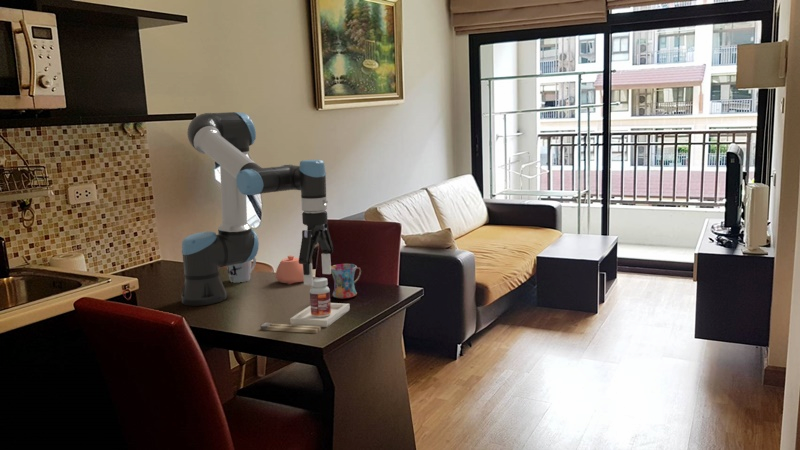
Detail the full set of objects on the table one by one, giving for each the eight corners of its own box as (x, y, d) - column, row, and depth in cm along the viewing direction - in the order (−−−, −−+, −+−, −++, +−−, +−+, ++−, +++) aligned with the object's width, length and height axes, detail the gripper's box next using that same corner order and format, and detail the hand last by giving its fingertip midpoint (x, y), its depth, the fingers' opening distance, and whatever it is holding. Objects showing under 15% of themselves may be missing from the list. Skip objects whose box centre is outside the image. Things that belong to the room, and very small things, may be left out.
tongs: (260, 329, 191) (260, 325, 191) (265, 326, 194) (265, 322, 194) (316, 333, 186) (316, 329, 186) (321, 329, 189) (320, 325, 189)
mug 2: (341, 301, 218) (339, 271, 216) (326, 296, 225) (324, 267, 223) (369, 294, 225) (368, 264, 224) (354, 290, 232) (352, 261, 231)
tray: (290, 325, 194) (290, 318, 194) (315, 308, 211) (315, 302, 211) (327, 327, 191) (327, 320, 191) (349, 309, 208) (349, 303, 208)
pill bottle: (320, 319, 197) (318, 282, 195) (307, 315, 201) (304, 280, 199) (335, 314, 201) (333, 278, 200) (321, 311, 205) (319, 276, 204)
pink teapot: (270, 282, 250) (268, 256, 248) (301, 275, 259) (299, 250, 257) (286, 287, 241) (284, 260, 239) (318, 280, 249) (316, 254, 248)
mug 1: (220, 282, 252) (218, 257, 251) (247, 274, 265) (245, 250, 264) (241, 285, 247) (238, 259, 246) (266, 276, 260) (264, 251, 259)
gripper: (308, 218, 183) (311, 290, 187) (341, 205, 207) (344, 270, 210) (284, 217, 185) (288, 289, 189) (320, 205, 209) (323, 269, 212)
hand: (317, 279), depth 200 cm, fingers open, 13 cm apart
